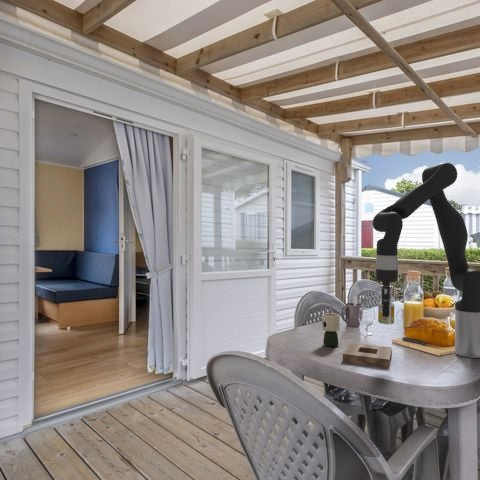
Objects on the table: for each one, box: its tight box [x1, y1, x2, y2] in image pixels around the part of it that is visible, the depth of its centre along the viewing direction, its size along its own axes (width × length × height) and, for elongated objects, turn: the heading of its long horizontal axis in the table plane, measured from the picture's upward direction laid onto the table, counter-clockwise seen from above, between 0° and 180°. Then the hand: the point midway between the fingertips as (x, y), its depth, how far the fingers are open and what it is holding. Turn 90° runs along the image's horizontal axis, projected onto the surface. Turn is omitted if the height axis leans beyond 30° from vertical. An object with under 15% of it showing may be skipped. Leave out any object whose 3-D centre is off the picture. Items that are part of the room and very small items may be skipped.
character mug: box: [321, 312, 341, 348], centre depth 160 cm, size 11×7×13 cm, turn 174°
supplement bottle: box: [377, 296, 395, 326], centre depth 137 cm, size 5×5×10 cm
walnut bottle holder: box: [342, 342, 393, 369], centre depth 144 cm, size 16×16×3 cm
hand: (386, 314), depth 137 cm, fingers closed on supplement bottle, 5 cm apart
